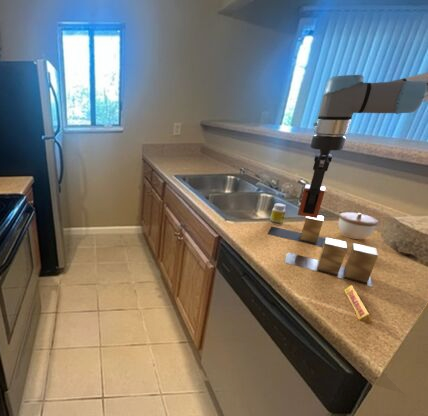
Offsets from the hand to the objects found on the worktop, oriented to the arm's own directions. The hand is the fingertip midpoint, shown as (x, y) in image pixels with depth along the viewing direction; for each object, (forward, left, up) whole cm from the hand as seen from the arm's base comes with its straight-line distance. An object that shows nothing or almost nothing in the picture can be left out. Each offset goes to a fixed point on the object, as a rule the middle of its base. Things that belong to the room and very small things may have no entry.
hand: (308, 210), depth 87 cm
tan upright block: (-8, +4, -16) cm, 19 cm away
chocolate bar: (-15, +20, -17) cm, 30 cm away
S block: (0, 0, -1) cm, 1 cm away
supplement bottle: (+10, -26, -17) cm, 33 cm away
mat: (+2, -16, -17) cm, 23 cm away
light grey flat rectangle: (-8, +4, -17) cm, 19 cm away
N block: (-15, +4, -16) cm, 22 cm away
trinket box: (-15, -29, -17) cm, 37 cm away
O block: (-2, -16, -16) cm, 23 cm away
